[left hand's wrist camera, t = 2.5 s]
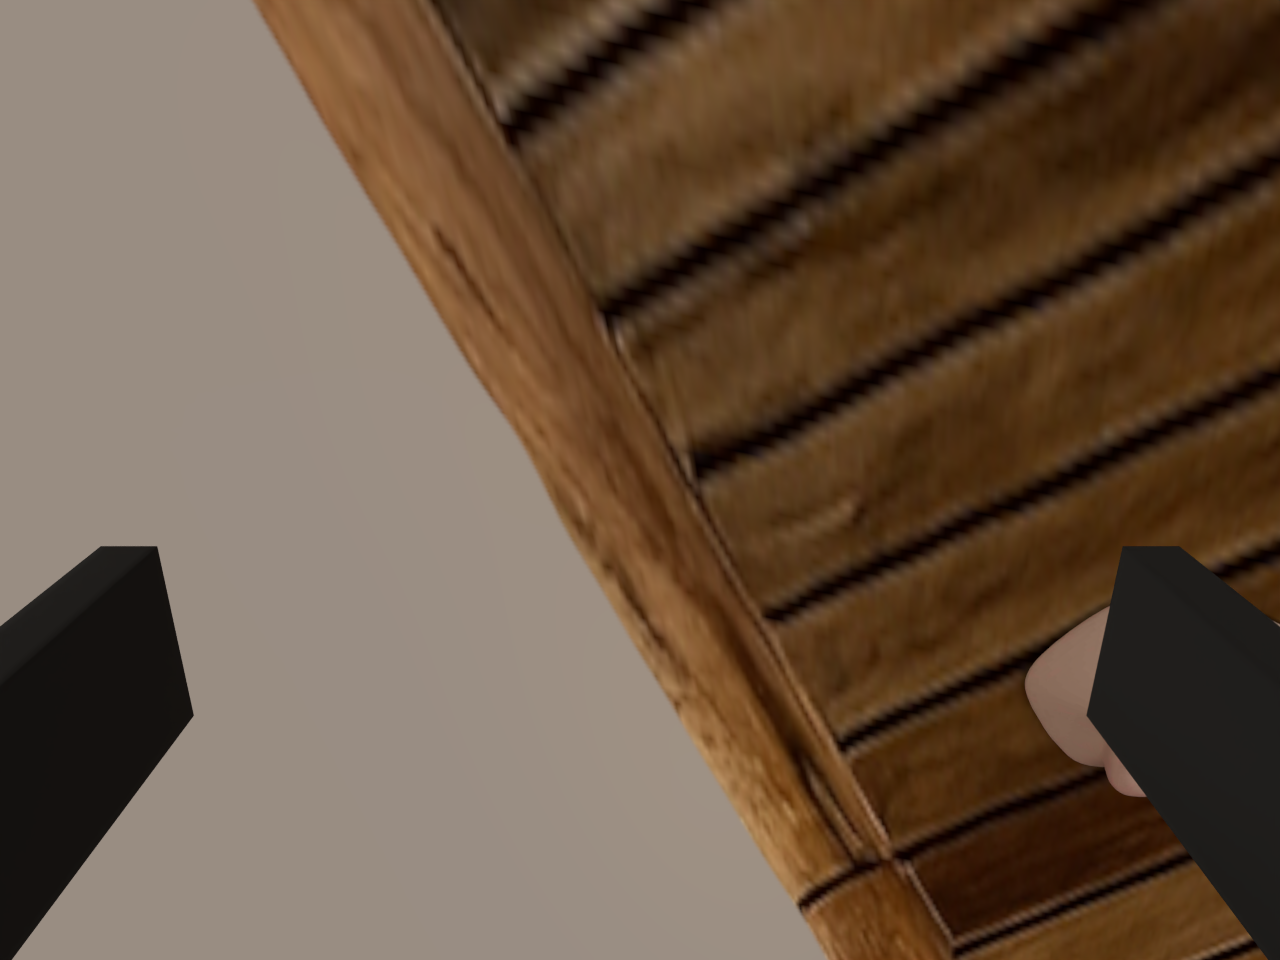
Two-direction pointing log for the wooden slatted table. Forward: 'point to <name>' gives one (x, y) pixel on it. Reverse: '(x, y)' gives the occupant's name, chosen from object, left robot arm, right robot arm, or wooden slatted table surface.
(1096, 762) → the anatomical model
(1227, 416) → the wooden slatted table surface
